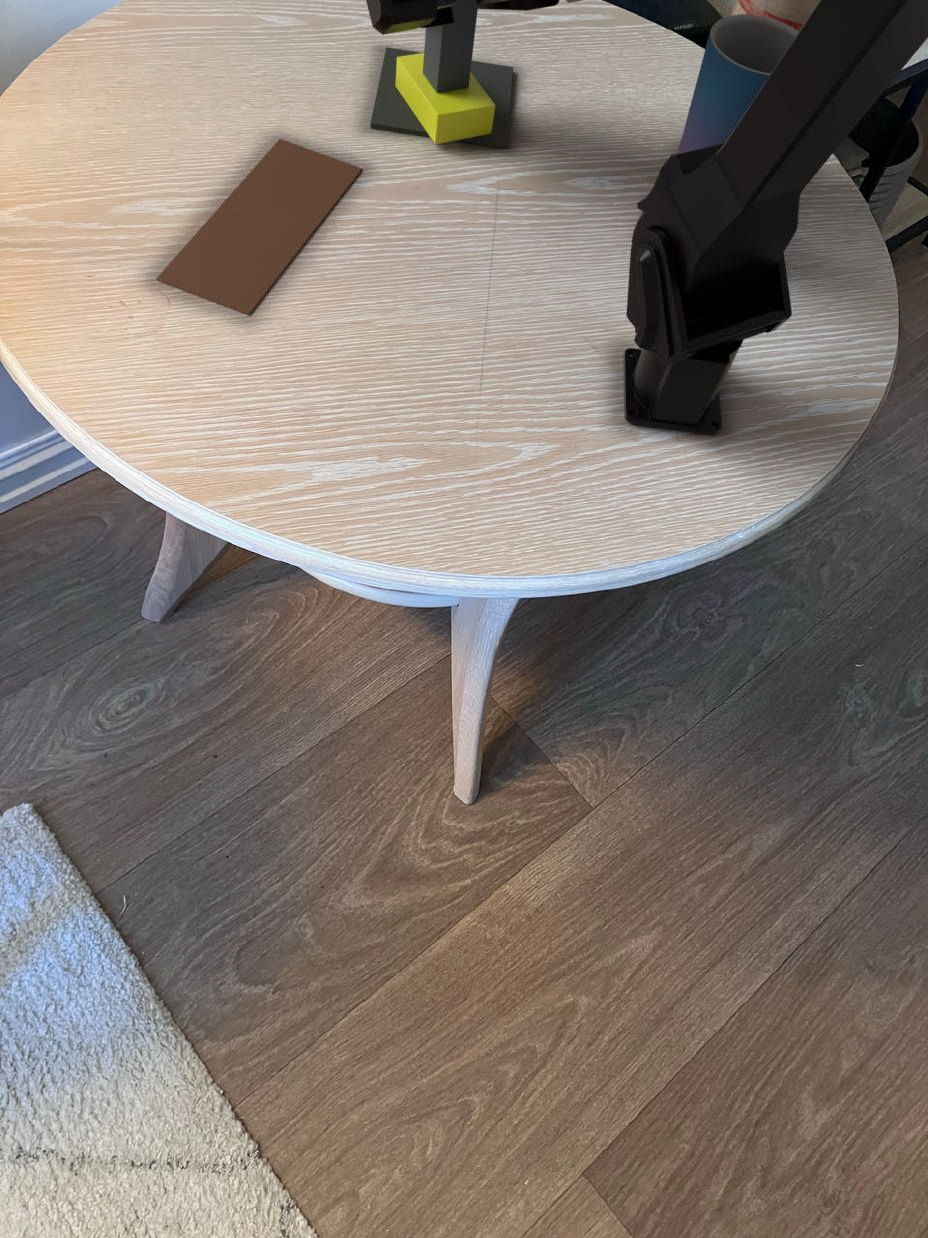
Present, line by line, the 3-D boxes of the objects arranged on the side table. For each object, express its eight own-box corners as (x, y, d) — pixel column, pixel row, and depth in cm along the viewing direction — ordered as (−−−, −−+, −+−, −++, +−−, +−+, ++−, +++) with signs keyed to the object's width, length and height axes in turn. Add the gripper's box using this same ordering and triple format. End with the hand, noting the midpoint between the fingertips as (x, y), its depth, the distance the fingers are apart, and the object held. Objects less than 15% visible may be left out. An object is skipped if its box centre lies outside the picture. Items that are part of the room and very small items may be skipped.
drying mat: (506, 148, 75) (507, 143, 75) (370, 127, 74) (370, 123, 74) (512, 71, 81) (513, 66, 80) (386, 51, 80) (386, 46, 80)
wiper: (435, 144, 74) (452, -54, 62) (395, 85, 77) (404, -113, 65) (491, 133, 75) (519, -62, 63) (449, 77, 78) (469, -119, 66)
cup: (728, 222, 74) (810, 23, 61) (732, 280, 70) (820, 83, 57) (643, 208, 73) (708, 5, 60) (643, 266, 70) (712, 64, 57)
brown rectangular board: (249, 316, 63) (248, 313, 63) (156, 280, 63) (155, 278, 63) (362, 170, 72) (362, 167, 72) (279, 140, 72) (279, 138, 72)
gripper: (640, -258, 58) (523, -131, 72) (367, -239, 52) (296, -105, 66) (672, -52, 62) (554, 31, 75) (419, -12, 56) (342, 69, 69)
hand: (443, 4), depth 71 cm, fingers open, 5 cm apart
